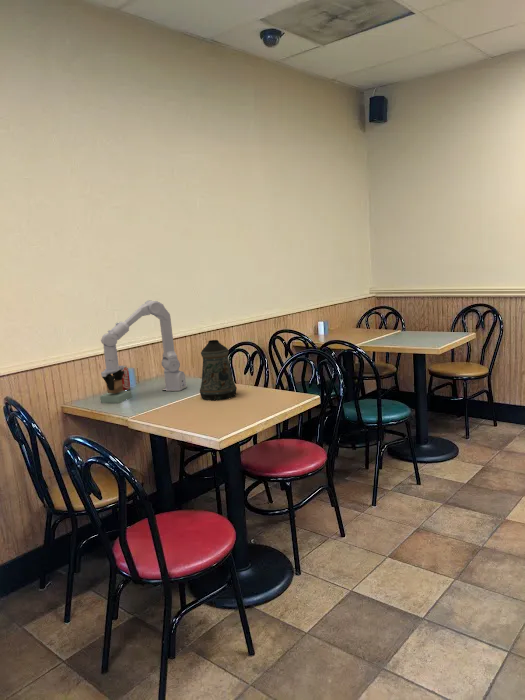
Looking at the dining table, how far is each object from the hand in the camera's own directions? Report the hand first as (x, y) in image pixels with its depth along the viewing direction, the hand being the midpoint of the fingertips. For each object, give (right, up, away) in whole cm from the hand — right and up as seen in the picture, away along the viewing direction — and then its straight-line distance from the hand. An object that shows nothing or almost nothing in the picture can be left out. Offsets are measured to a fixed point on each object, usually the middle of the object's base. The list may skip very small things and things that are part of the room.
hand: (115, 388), depth 255 cm
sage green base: (0, -5, +1) cm, 5 cm away
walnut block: (0, -1, 0) cm, 2 cm away
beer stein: (+47, -3, -6) cm, 48 cm away
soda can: (-1, -2, +19) cm, 20 cm away
